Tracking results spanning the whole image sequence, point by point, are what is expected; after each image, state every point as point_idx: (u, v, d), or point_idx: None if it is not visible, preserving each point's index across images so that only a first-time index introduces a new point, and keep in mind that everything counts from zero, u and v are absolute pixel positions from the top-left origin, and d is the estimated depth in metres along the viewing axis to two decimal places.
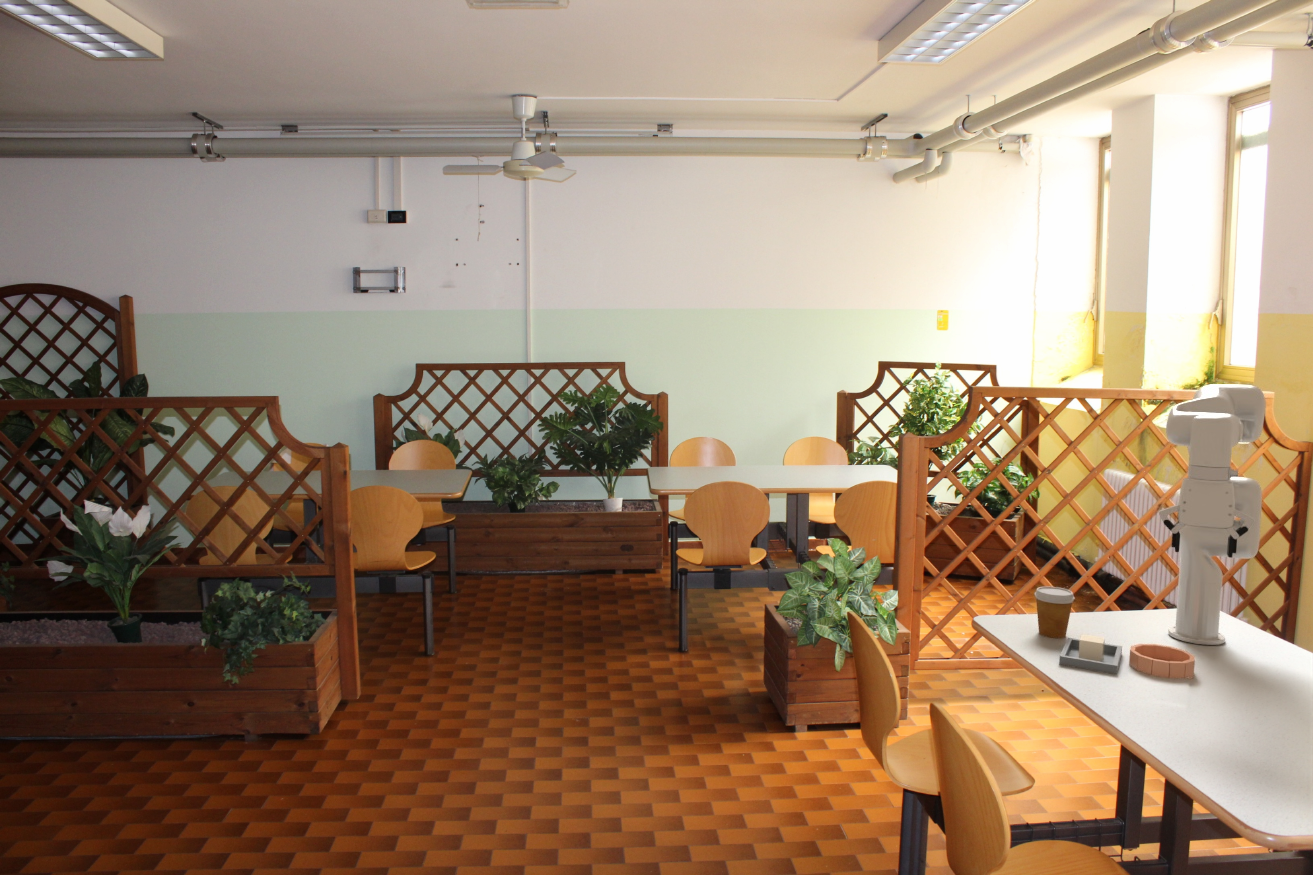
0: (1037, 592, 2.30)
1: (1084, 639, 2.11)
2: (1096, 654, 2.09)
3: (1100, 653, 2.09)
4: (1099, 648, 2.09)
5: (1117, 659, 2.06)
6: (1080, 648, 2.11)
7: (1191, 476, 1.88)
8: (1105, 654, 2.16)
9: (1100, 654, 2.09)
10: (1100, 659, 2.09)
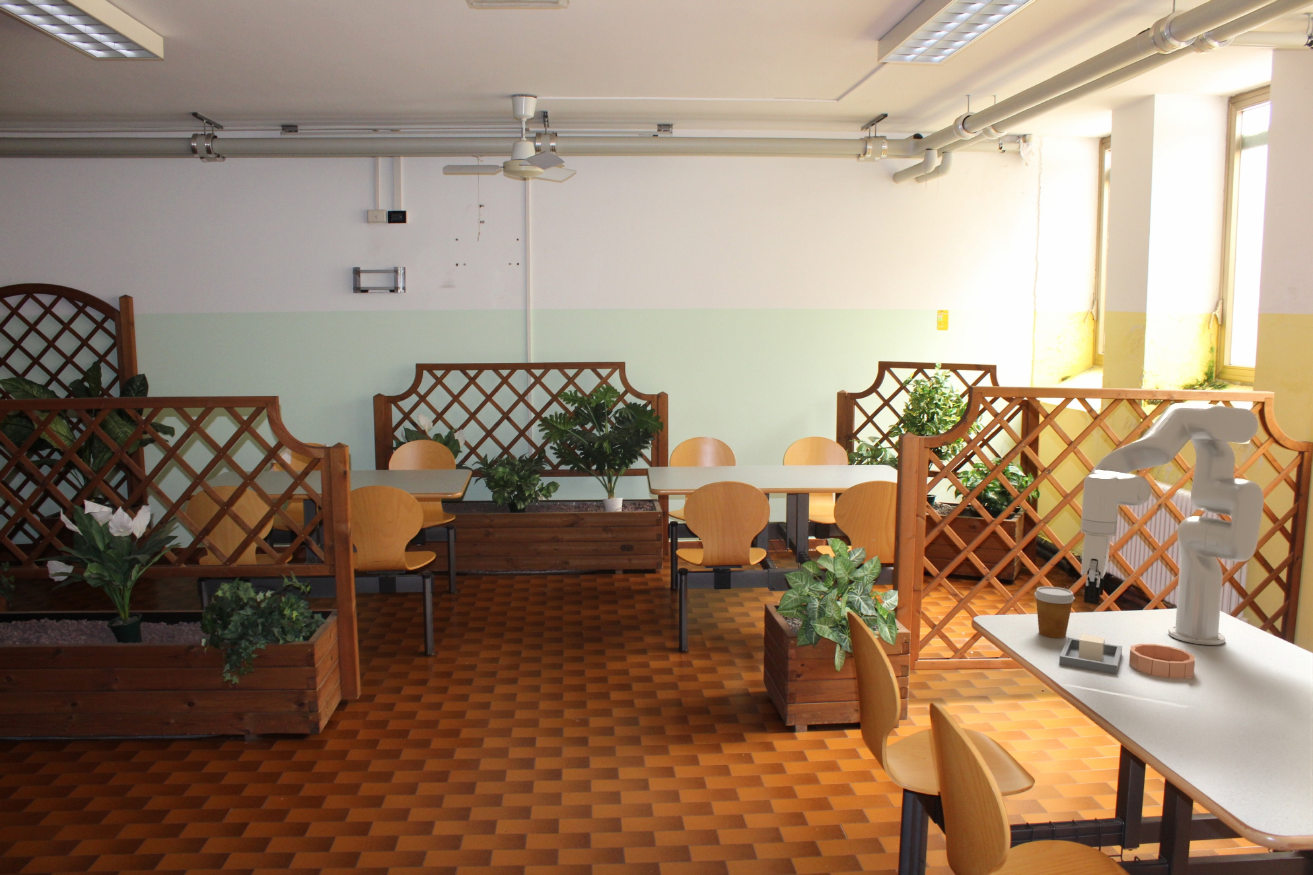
0: (1037, 592, 2.30)
1: (1084, 639, 2.11)
2: (1096, 654, 2.09)
3: (1100, 653, 2.09)
4: (1099, 648, 2.09)
5: (1117, 659, 2.06)
6: (1080, 648, 2.11)
7: (1106, 532, 2.05)
8: (1105, 654, 2.16)
9: (1100, 654, 2.09)
10: (1100, 659, 2.09)
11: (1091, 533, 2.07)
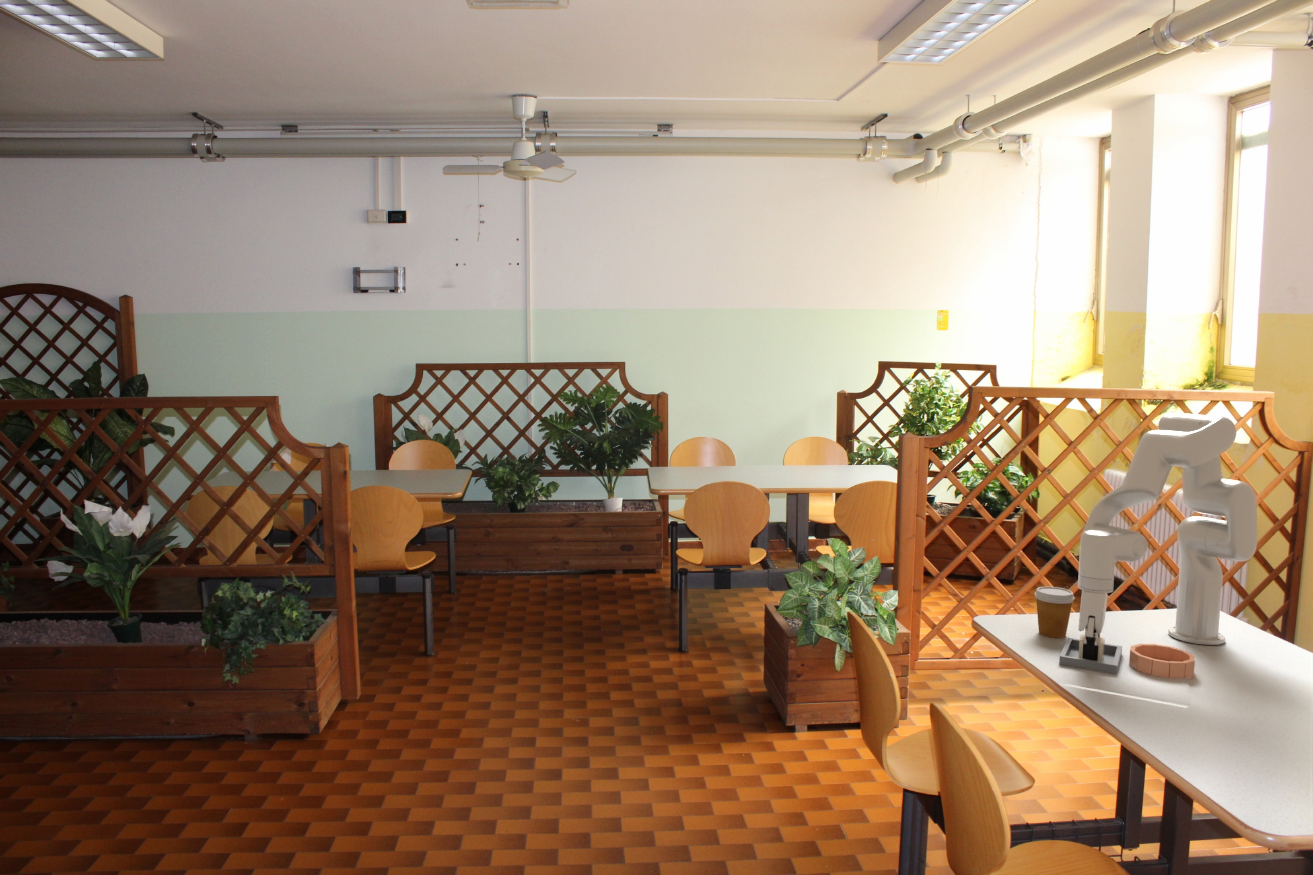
0: (1037, 592, 2.30)
1: None
2: None
3: (1100, 653, 2.09)
4: (1099, 648, 2.09)
5: (1117, 659, 2.06)
6: (1080, 648, 2.11)
7: (1103, 589, 2.07)
8: (1105, 654, 2.16)
9: (1100, 654, 2.09)
10: (1100, 659, 2.09)
11: (1088, 590, 2.08)
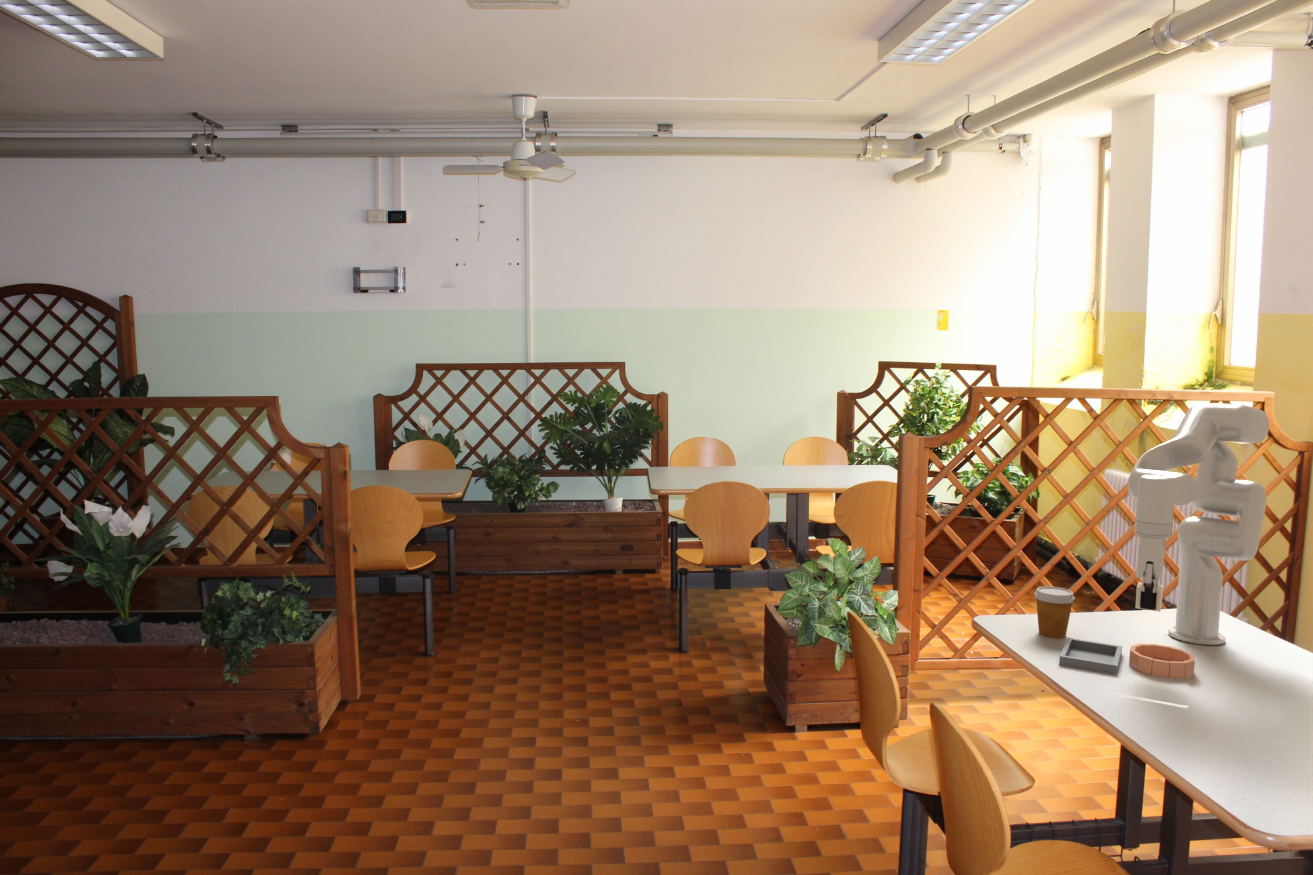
0: (1037, 592, 2.30)
1: (1141, 586, 2.06)
2: None
3: (1158, 600, 2.04)
4: (1157, 595, 2.04)
5: (1117, 659, 2.06)
6: (1137, 595, 2.06)
7: (1162, 534, 2.01)
8: (1105, 654, 2.16)
9: (1158, 601, 2.04)
10: (1158, 606, 2.04)
11: (1146, 535, 2.03)
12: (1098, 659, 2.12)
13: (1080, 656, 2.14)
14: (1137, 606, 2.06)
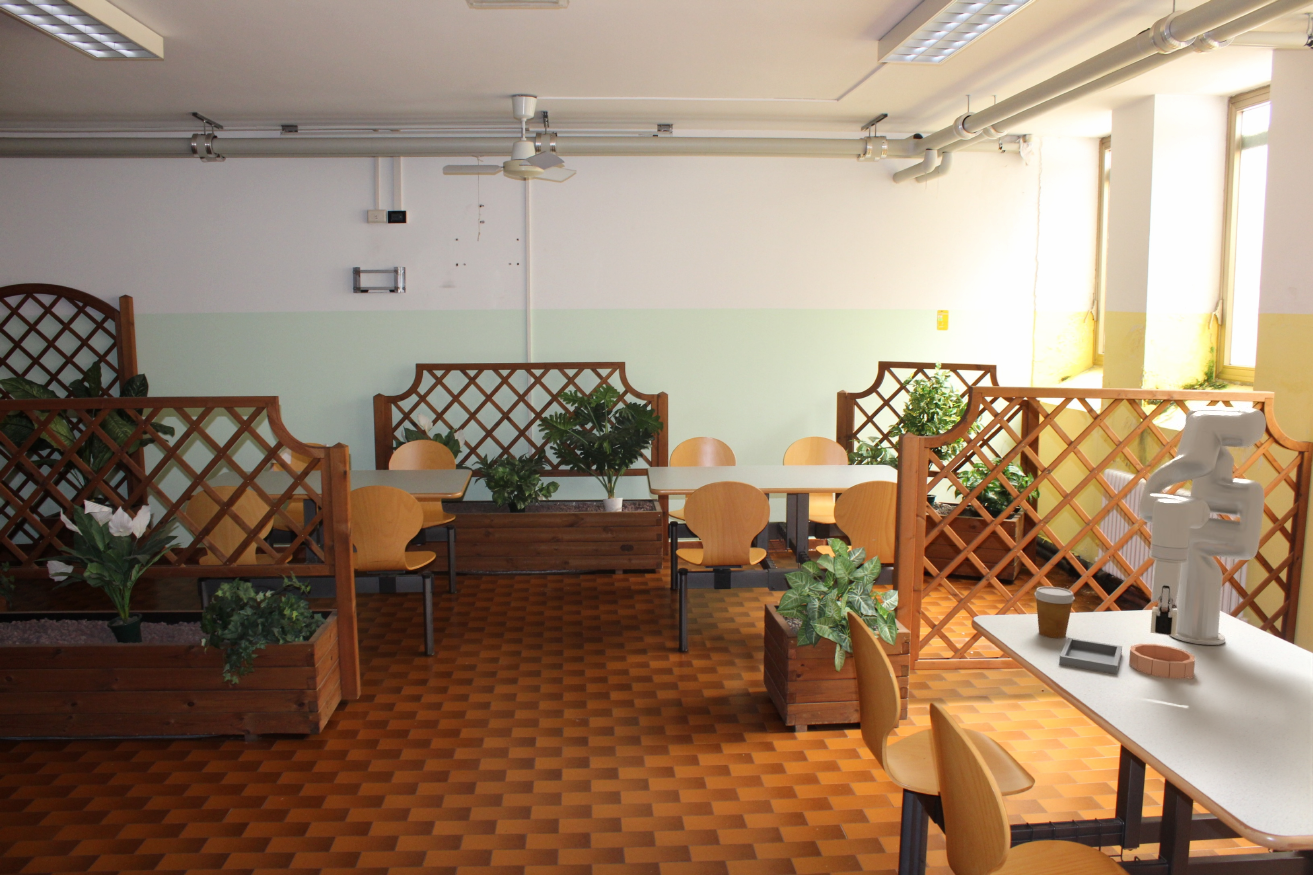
0: (1037, 592, 2.30)
1: (1156, 611, 2.05)
2: None
3: (1173, 625, 2.02)
4: (1173, 620, 2.02)
5: (1117, 659, 2.06)
6: (1152, 620, 2.05)
7: (1178, 558, 2.00)
8: (1105, 654, 2.16)
9: (1174, 626, 2.02)
10: (1174, 631, 2.02)
11: (1162, 559, 2.02)
12: (1098, 659, 2.12)
13: (1080, 656, 2.14)
14: (1152, 630, 2.05)
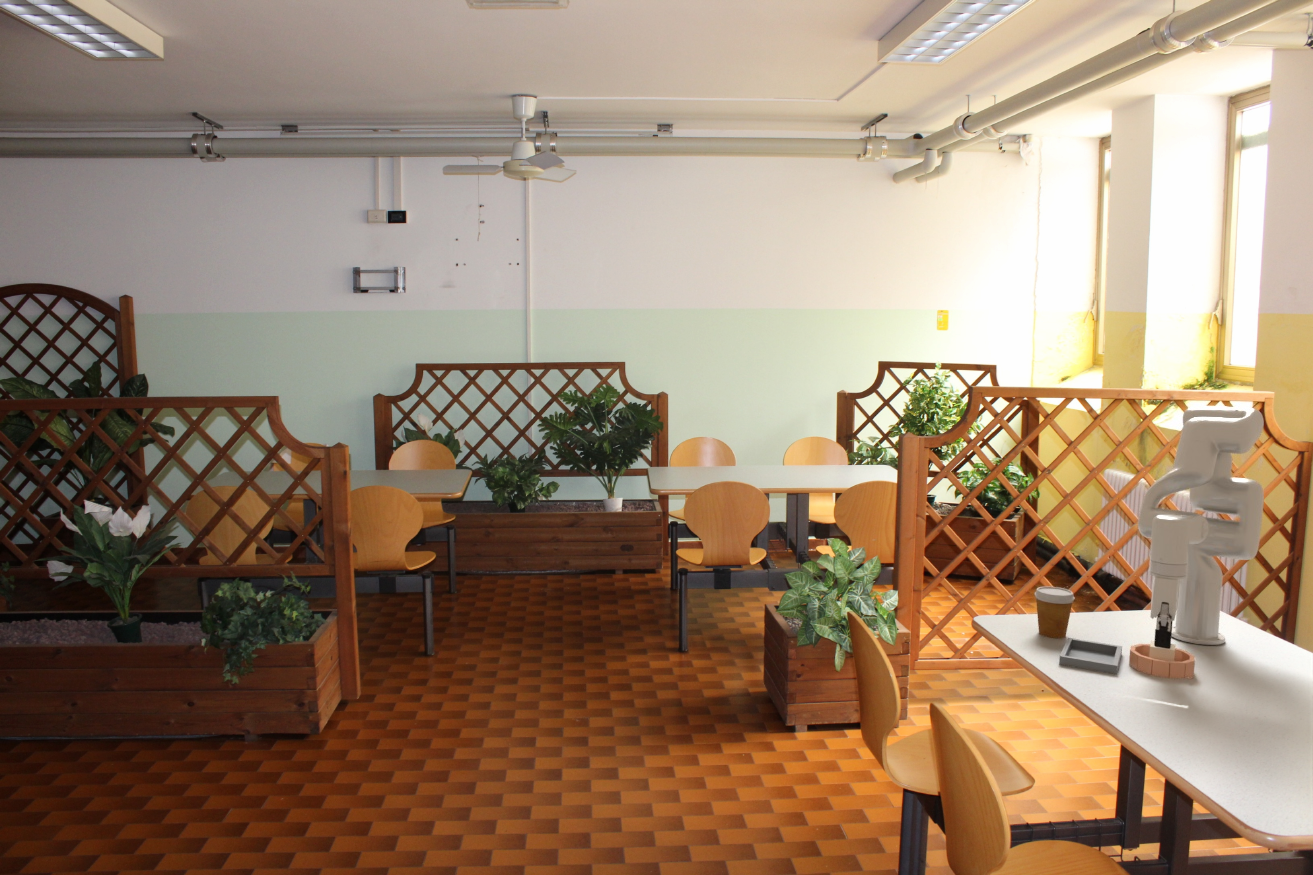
0: (1037, 592, 2.30)
1: (1154, 646, 2.06)
2: None
3: (1171, 660, 2.04)
4: (1170, 655, 2.04)
5: (1117, 659, 2.06)
6: (1150, 655, 2.06)
7: (1177, 575, 2.01)
8: (1105, 654, 2.16)
9: None
10: None
11: (1161, 576, 2.02)
12: (1098, 659, 2.12)
13: (1080, 656, 2.14)
14: None
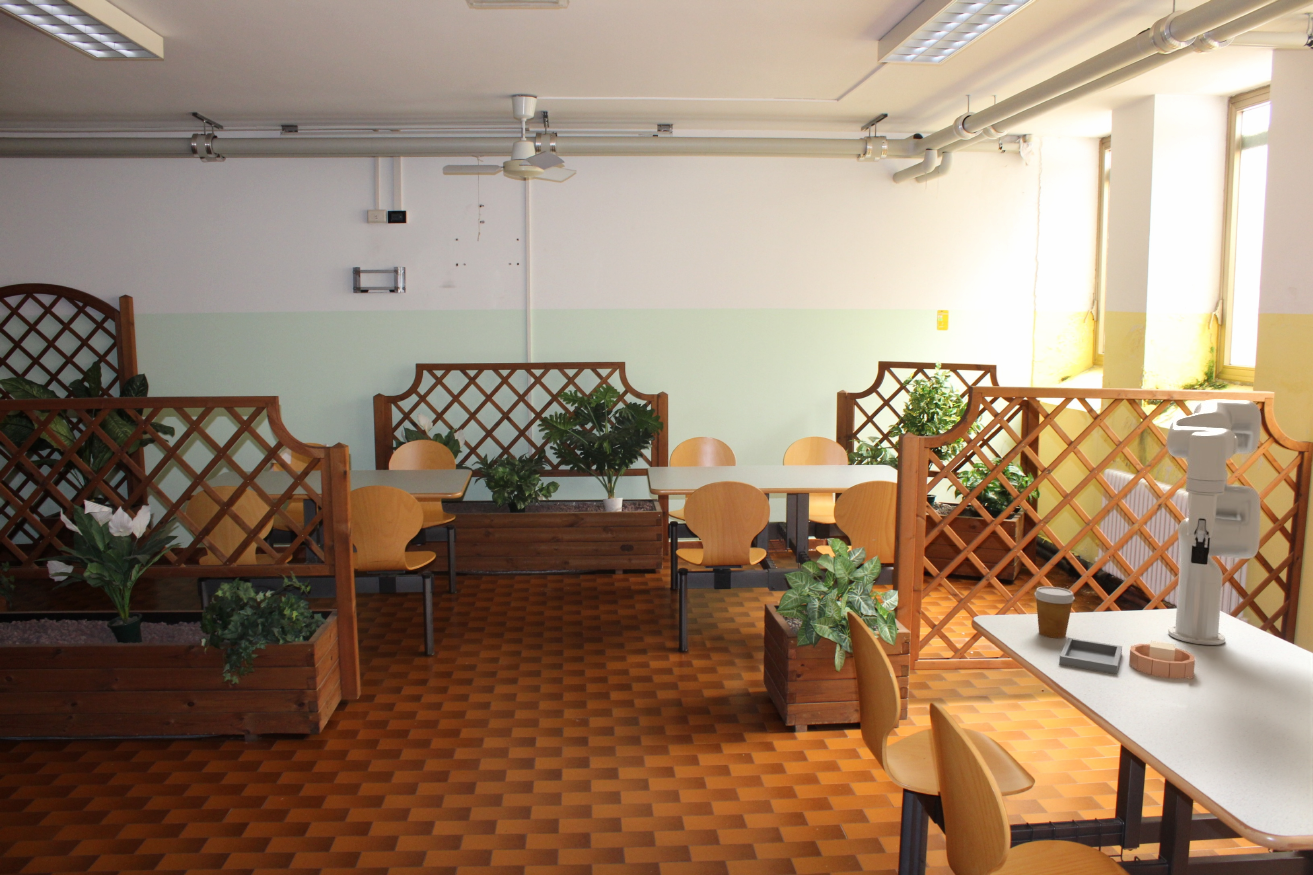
0: (1037, 592, 2.30)
1: (1154, 646, 2.06)
2: None
3: (1171, 660, 2.04)
4: (1170, 655, 2.04)
5: (1117, 659, 2.06)
6: (1150, 655, 2.06)
7: (1214, 491, 2.00)
8: (1105, 654, 2.16)
9: None
10: None
11: (1198, 492, 2.02)
12: (1098, 659, 2.12)
13: (1080, 656, 2.14)
14: None
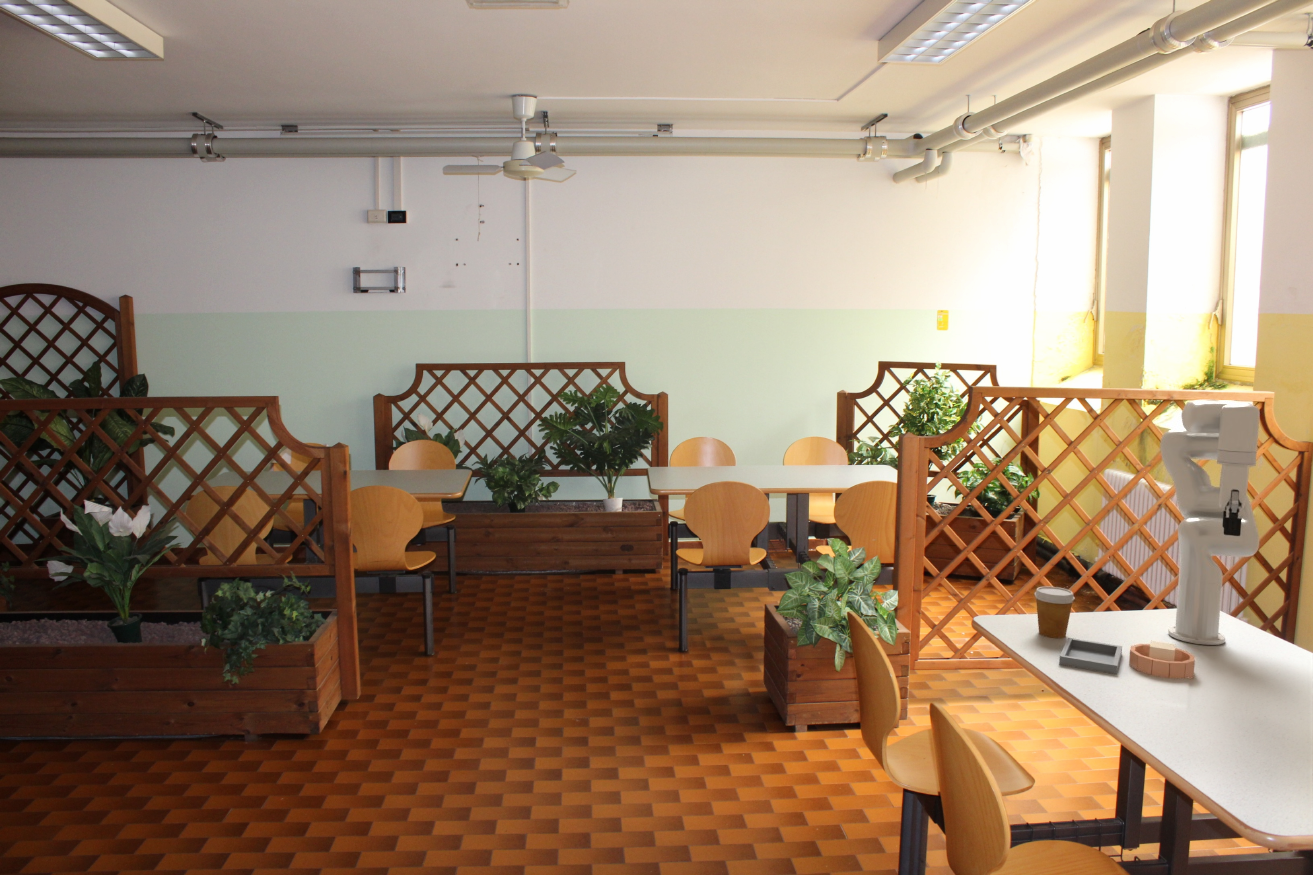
0: (1037, 592, 2.30)
1: (1154, 646, 2.06)
2: None
3: (1171, 660, 2.04)
4: (1170, 655, 2.04)
5: (1117, 659, 2.06)
6: (1150, 655, 2.06)
7: (1247, 462, 2.01)
8: (1105, 654, 2.16)
9: None
10: None
11: (1230, 464, 2.02)
12: (1098, 659, 2.12)
13: (1080, 656, 2.14)
14: None
